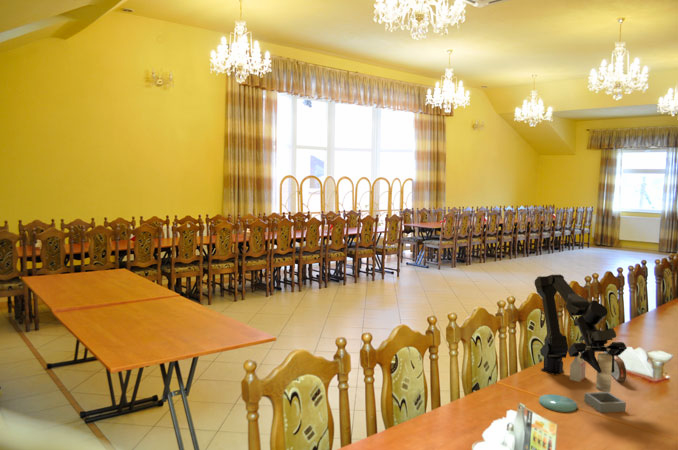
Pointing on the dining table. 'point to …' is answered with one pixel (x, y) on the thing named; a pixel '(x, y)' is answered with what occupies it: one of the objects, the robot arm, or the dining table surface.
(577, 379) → the milk carton
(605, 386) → the peg
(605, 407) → the pocket
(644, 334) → the dining table surface
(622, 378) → the tin
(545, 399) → the saucer
